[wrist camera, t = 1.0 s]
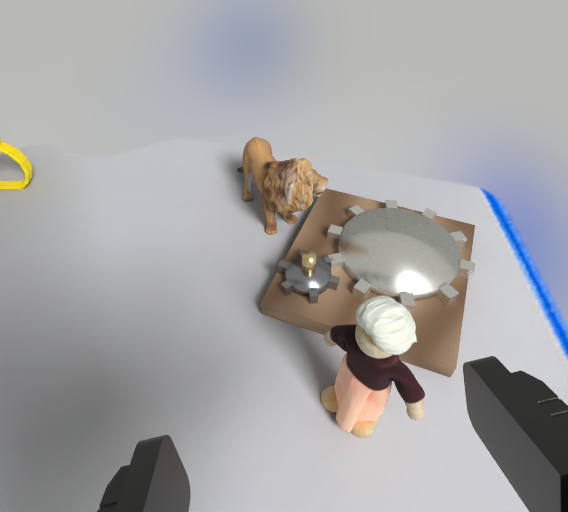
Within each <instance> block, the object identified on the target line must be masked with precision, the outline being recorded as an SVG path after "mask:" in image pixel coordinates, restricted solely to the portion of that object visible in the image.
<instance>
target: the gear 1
mask: <svg viewBox="0 0 568 512" xmlns="http://www.w3.org/2000/svg"><path fill="white" fill-rule="evenodd" d="M331 258H332V257H331ZM333 260H334V259H333ZM330 263H331V261H330V259H329V257H328V256H327V257H325V258H323V259H322V258H320V257H318V256H317V255H316V253H315V252H314V251H311V250H307V249H299V256H297V257H295V258H293V259H292V260H290V261H289V262H286V261H283V260H280V262H279V264H278V273H280V274H284V275H285V282H283V283H281V292H282V293H283V294H284V295H285V296H287V295H289V294H290V293H292V292H294V293H296V294H298V295H301V296H306V297H308V299H309V304H313V303H318V295H319V294H322V293H323V292H325V291H326V290H327V288H329V289H332V290H335V291H336V290H337V288H338V286H339V280H340V277H336V276H333V275H331V268H330Z"/></svg>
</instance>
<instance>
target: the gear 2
mask: <svg viewBox="0 0 568 512" xmlns="http://www.w3.org/2000/svg"><path fill="white" fill-rule="evenodd" d="M436 214H437V213H436V212H434V211H432V210H430V209H426V210H425V211H424V212H423V213H422V214H419V213H416V212H413V211H409V210H404V209H398V207H397V201H390V200H386V201H385V205H384V208H379V209H373V210H369V211H366V212H365V211H364V210H363V209H362V208H361V207H359V206H358V205H356V206H354V207H351V208H349V211H348V217H349V218H351V220H349V221H348V222H347V223H346V225H345V226H344V227H339V226H336V225H332V224H331V225H330V227H329V230H328V232H327V239H328V240H332V241H336V242H339V244H338V253H336V254H330V255H328V257H329V259H330V261H331V263H330V268H331V271H334V270H340V269H344V270H345V272H346V273H347V274H348V276H349V277H350V278H351V279H352V280H353V281H354V282H356V283H357V284H356V285H355V286H354V287H353V292H352V295H354V296H356V297H357V298H359V299H361V300H362V301H363V300H364V299H365V298H366V297H367V296H368V295H369V293H370V292H372V293H374V294H376V295H379V296H388V297H391V298H393V299H394V300H398V303H400V304H402V305H403V306H404V307H405V308H406V309H407V310H408V311H409V312H410V313H413V311H414V308H415V301H418V300H424V299H428V298H431V297H434V296H436V297H437V298H438V299H440V300H441V301H442V302H443V303H444V304H445V305H446V306H447V305H448V304H450V303H452V302H453V301H455V300H456V298H457V296H458V294H459V292H458V291H456V290H455V289H454V288H453V287H452V286H451V284H452V282H453V281H454V279H455V277H456V275H458V276H461V277H465V278H469V279H471V277H472V275H473V273H474V268H475V263H473V262H470V261H466V260H462V259H461V256H460V251H459V247H462V246H464V244H465V242H466V240H467V238H466V237H465V235H464V234H463V233H462V232H461V231H458V232H452V233H449V232H448V231H447V230H446V229H445V228H444V227H442V226H441V225H440V224H438V223H437V222H435V221H434V220H435V217H436ZM331 257H332V258H331ZM333 259H334V260H333Z"/></svg>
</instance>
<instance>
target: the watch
mask: <svg viewBox="0 0 568 512" xmlns="http://www.w3.org/2000/svg"><path fill="white" fill-rule="evenodd" d="M0 152H2V153H4V154H7V155H9V156H10V157H11V158H12V159H14V160H15V161H16V162H18V163H19V165H20V166H21V168H22V169H23V171H24V173H25V180H24V181H0V190H6V189H23V188H24V187H25V186H26V185H27V184H28V183H29V181H30V179H31V178H32V166H31V164H30V162H29V161H28V159H27V157H25V155H24V154H23V153H21V152H20V151H19V150H18V149H16V148H15V147H13V146H11V145H9V144H6V143H4V142H2V141H1V139H0Z"/></svg>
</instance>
